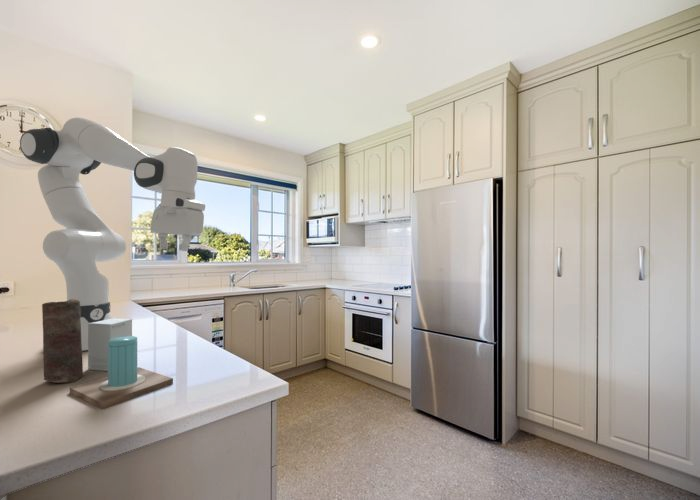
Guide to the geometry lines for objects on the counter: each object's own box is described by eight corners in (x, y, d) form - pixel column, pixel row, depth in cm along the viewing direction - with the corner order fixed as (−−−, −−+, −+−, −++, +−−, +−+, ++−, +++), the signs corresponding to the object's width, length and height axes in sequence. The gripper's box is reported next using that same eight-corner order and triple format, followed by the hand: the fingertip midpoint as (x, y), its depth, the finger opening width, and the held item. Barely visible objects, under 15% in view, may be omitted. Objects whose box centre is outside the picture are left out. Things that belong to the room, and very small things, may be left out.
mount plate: (69, 392, 76) (69, 365, 76) (139, 371, 89) (139, 348, 89) (102, 408, 68) (102, 378, 68) (172, 383, 81) (172, 357, 81)
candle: (37, 388, 78) (37, 303, 78) (48, 377, 85) (48, 298, 85) (78, 382, 82) (78, 300, 82) (86, 372, 88) (85, 296, 88)
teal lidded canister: (103, 383, 78) (103, 340, 78) (129, 375, 82) (129, 335, 82) (116, 388, 75) (116, 344, 75) (142, 380, 80) (142, 338, 80)
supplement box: (109, 371, 89) (109, 324, 89) (86, 369, 90) (86, 323, 90) (133, 362, 96) (133, 318, 96) (111, 360, 98) (111, 317, 98)
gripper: (147, 201, 101) (142, 247, 101) (189, 200, 91) (184, 251, 91) (167, 205, 107) (162, 248, 106) (209, 205, 97) (204, 252, 96)
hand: (173, 249), depth 99 cm, fingers open, 8 cm apart
